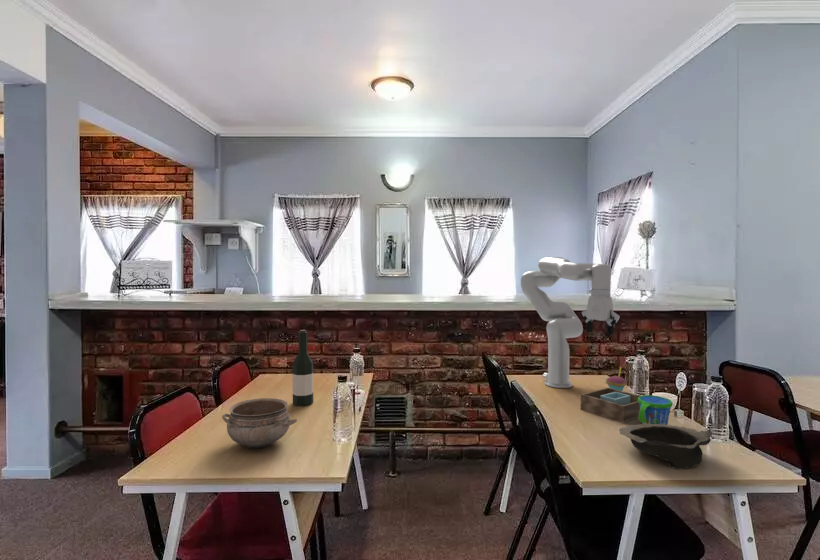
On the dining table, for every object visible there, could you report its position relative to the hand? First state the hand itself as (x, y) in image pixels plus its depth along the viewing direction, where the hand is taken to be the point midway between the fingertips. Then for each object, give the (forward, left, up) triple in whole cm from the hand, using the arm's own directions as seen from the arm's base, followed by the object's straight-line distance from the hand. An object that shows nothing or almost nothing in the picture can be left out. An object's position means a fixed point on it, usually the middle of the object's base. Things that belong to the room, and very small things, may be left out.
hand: (599, 333), depth 194 cm
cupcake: (-2, +16, -28) cm, 33 cm away
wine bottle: (-62, -108, -28) cm, 128 cm away
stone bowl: (+46, -36, -28) cm, 65 cm away
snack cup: (+32, -15, -28) cm, 45 cm away
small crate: (+14, -10, -27) cm, 32 cm away
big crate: (+14, -10, -28) cm, 33 cm away
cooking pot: (-28, -135, -28) cm, 141 cm away
